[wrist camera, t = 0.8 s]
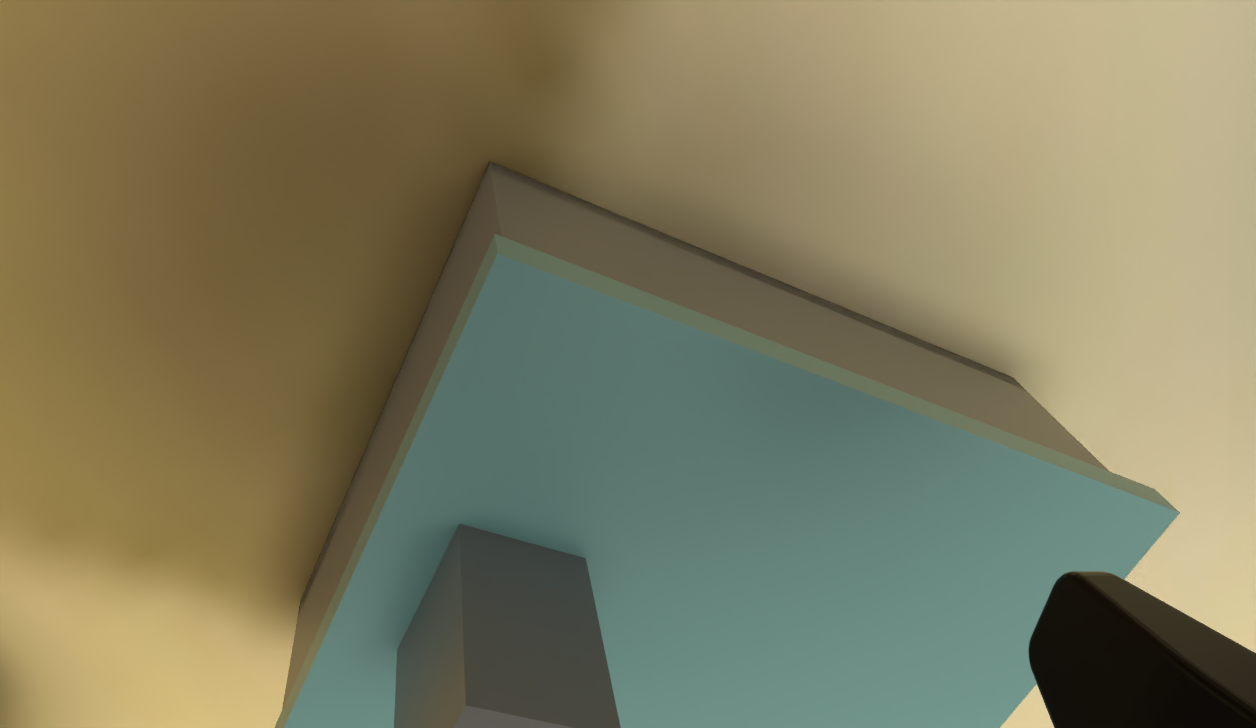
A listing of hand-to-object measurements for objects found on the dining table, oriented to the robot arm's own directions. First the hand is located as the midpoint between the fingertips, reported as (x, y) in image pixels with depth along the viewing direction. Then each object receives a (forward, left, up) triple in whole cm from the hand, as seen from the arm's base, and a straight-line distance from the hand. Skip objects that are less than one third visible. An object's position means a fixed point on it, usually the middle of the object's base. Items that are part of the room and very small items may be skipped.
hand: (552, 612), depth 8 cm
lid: (-7, +6, -10) cm, 14 cm away
